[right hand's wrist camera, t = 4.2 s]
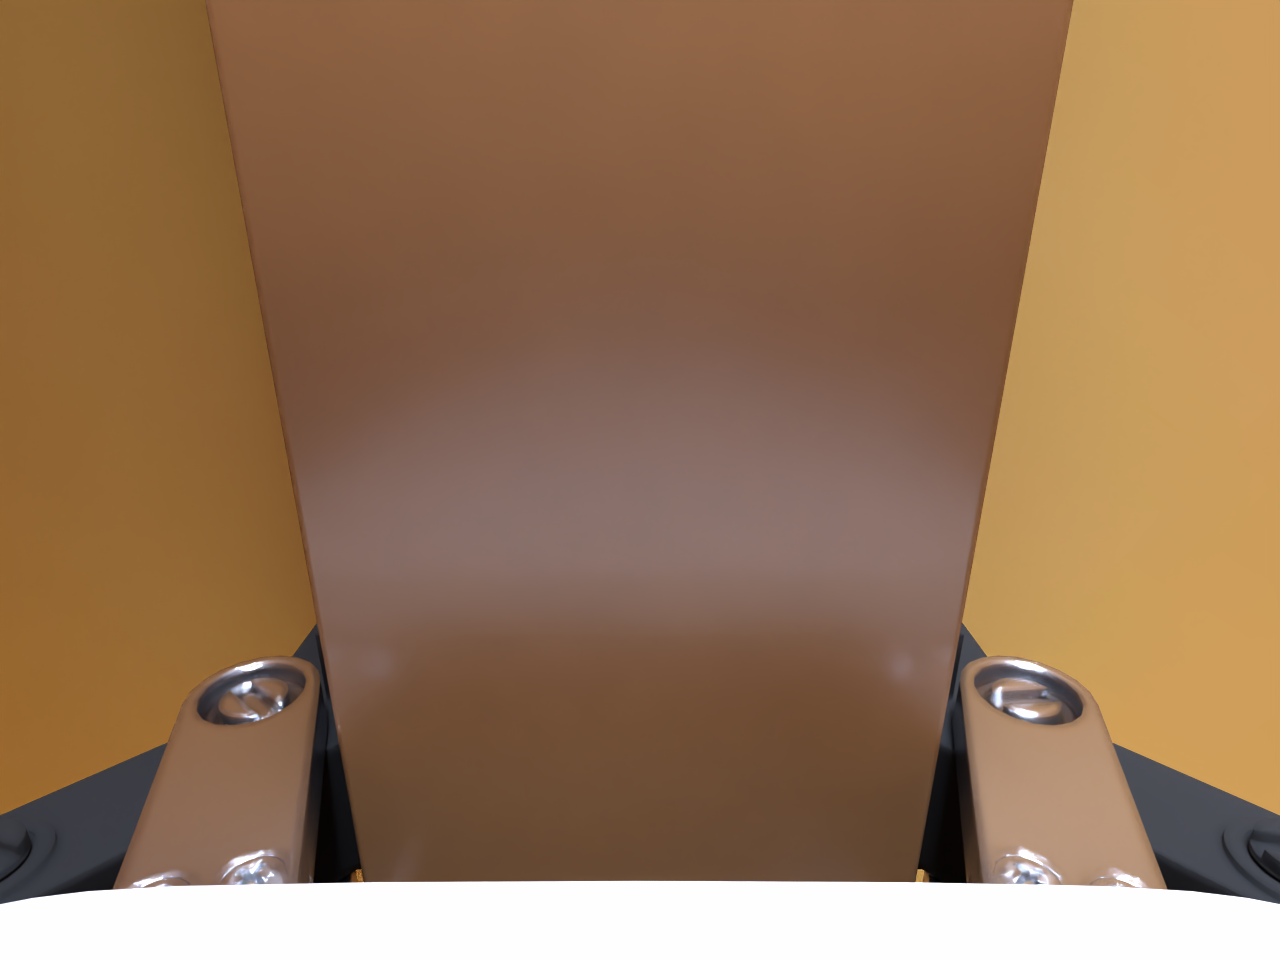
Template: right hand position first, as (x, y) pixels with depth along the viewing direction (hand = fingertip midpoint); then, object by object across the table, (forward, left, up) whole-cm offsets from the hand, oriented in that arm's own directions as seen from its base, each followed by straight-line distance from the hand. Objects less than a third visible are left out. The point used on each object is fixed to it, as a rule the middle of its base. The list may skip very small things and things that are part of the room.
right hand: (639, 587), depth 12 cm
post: (+18, 0, -3) cm, 19 cm away
